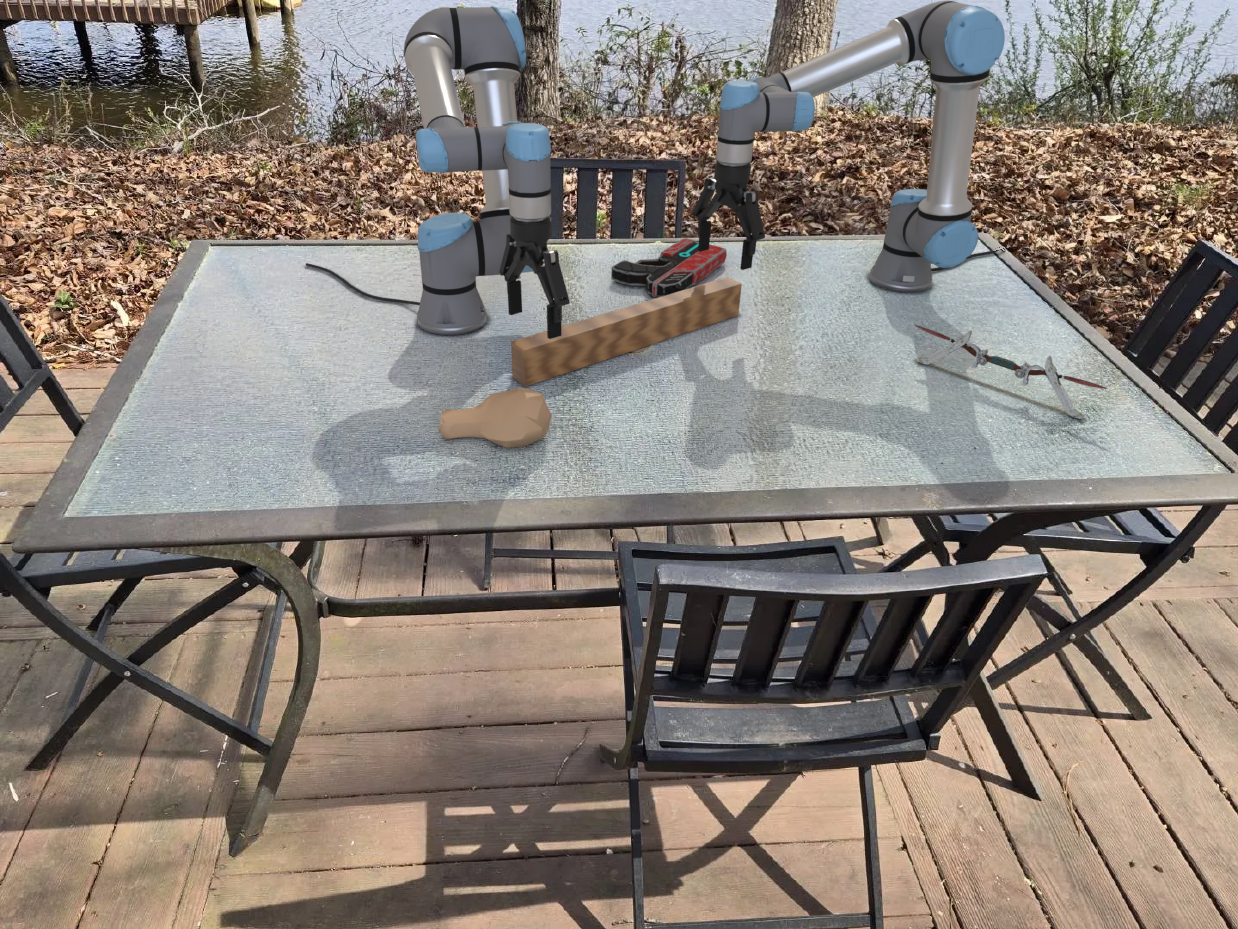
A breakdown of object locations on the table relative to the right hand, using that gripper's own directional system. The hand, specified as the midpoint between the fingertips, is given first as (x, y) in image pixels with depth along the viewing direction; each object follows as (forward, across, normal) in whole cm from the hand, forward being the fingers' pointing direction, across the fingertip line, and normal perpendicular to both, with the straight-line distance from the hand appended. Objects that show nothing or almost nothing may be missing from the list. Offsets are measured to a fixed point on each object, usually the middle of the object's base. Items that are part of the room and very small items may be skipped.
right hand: (724, 259), depth 195 cm
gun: (+14, +26, -8) cm, 30 cm away
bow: (+14, -58, -22) cm, 64 cm away
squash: (+14, -16, +70) cm, 73 cm away
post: (+14, 0, +25) cm, 29 cm away
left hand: (+2, 0, +51) cm, 51 cm away
